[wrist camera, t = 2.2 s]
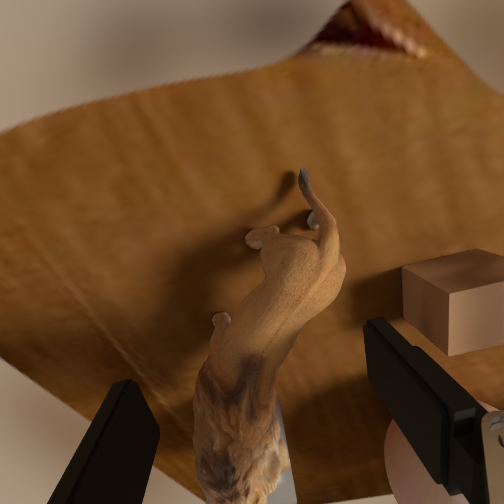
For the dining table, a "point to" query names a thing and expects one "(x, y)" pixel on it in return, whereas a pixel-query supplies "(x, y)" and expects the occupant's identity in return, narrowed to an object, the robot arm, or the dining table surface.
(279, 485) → the light grey cylinder
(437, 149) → the dining table surface
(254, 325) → the lion figurine
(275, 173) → the dining table surface
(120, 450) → the robot arm
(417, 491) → the decorative fruit
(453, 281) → the pale beige block
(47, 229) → the dining table surface
